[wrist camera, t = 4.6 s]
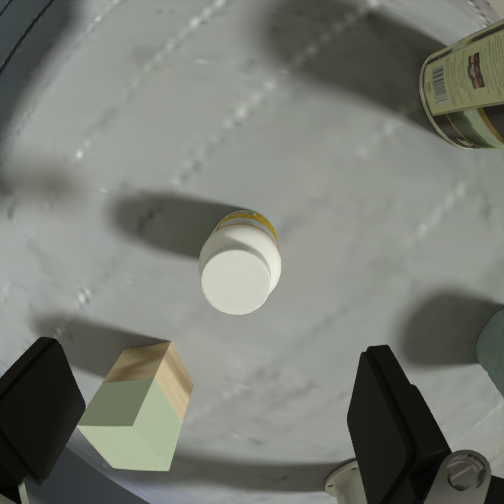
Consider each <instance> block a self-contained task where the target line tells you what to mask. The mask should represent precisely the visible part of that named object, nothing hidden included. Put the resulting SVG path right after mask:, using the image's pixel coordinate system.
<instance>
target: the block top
mask: <svg viewBox="0 0 504 504" xmlns="http://www.w3.org/2000/svg"><path fill="white" fill-rule="evenodd" d="M77 427H78V428H79V430H80V431H81V432H82V433H83V435H84V436H85V437H86V438H87V439H88V441H89V442H90V443H91V444H92V445H93V446H94V448H95V449H96V450H97V451H98V452H99V453H100V454H101V455H102V457H103V458H104V459H105V460H106V461H107V462H108V463H109V464H110V465H111V466H112V467H113V468H117V469H129V470H146V471H169V469H170V465H171V462H172V458H173V455H174V451H175V448H176V444H177V441H178V437H179V434H180V430H181V427H182V422H181V420H180V419H179V417H178V416H177V414H176V412H175V411H174V409H173V408H172V406H171V405H170V403H169V401H168V400H167V398H166V396H165V395H164V393H163V391H162V390H161V388H160V386H159V385H158V383H157V381H156V379H155V378H148V379H139V380H131V381H121V382H110V383H102V385H101V386H100V388H99V389H98V391H97V392H96V394H95V396H94V397H93V399H92V400H91V402H90V403H89V405H88V407H87V408H86V410H85V412H84V414H83V415H82V417H81V419H80V420H79V422H78V424H77Z"/></svg>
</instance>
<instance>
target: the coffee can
mask: <svg viewBox="0 0 504 504" xmlns="http://www.w3.org/2000/svg"><path fill="white" fill-rule="evenodd" d="M419 92H420V97H421V101H422V105H423V108H424V110H425V112H426V115H427V117H428V119H429V120H430V122H431V123H432V125H433V127H434V128H435V129H436V130H437V132H438V133H439V134H440V135H441V136H442V137H443V138H444V139H445V140H447V141H448V142H449V143H451V144H453V145H454V146H456V147H459V148H462V149H504V19H502V20H500V21H498V22H496V23H494V24H491V25H489V26H487V27H485V28H483V29H481V30H479V31H477V32H475V33H473V34H471V35H469V36H467V37H465V38H463V39H461V40H460V41H458V42H456V43H454V44H452V45H450V46H448V47H446V48H444V49H442V50H441V51H437V52H435V53H433V54H431V55H430V56H429V57H428V58H427V59H426V60H425V62H424V63H423V65H422V68H421V71H420V75H419Z"/></svg>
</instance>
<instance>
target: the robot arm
mask: <svg viewBox="0 0 504 504" xmlns="http://www.w3.org/2000/svg"><path fill="white" fill-rule="evenodd" d="M85 408H86V405H85V401H84V399H83V397H82V394H81V392H80V390H79V388H78V385H77V383H76V381H75V378H74V376H73V373H72V371H71V369H70V366H69V364H68V361H67V358H66V356H65V353H64V350H63V348H62V346H61V345H60V344H59V342H58V341H57V340H56V339H54V338H48V337H40V338H39V339H38V340H37V341H36V342H35V343H34V344H33V345H32V346H31V347H30V348H29V349H28V350H27V351H26V352H25V353H24V354H23V355H22V356H21V357H20V358H19V359H18V360H17V361H16V362H15V363H14V364H13V365H12V366H11V367H10V368H9V369H8V370H7V371H6V373H5V374H4V375H3V376H2V377H1V378H0V504H29V502H28V498H27V494H26V490H25V485H24V481H23V479H24V477H26V478H27V479H28V480H29V481H31V482H33V483H35V484H37V485H39V486H41V484H42V482H43V480H46V479H47V478H48V476H49V474H50V472H51V471H52V469H53V467H54V465H55V463H56V461H57V459H58V457H59V456H60V454H61V452H62V450H63V449H64V447H65V445H66V443H67V441H68V440H69V438H70V436H71V434H72V433H73V431H74V429H75V427H76V426H77V424H78V422H79V420H80V419H81V417H82V415H83V414H84V412H85ZM347 424H348V428H349V432H350V436H351V440H352V443H353V447H354V451H355V455H356V459H357V460H356V461H353V462H350V463H348V464H346V465H344V466H342V467H340V468H338V469H337V470H335V471H334V472H333V473H332V474H331V475H329V476H328V478H327V479H326V481H325V490H326V492H327V493H328V494H329V495H331V496H333V497H336V498H337V503H338V504H504V479H503V478H499V477H496V476H493V475H491V467H490V464H489V462H488V461H487V459H486V458H485V457H484V456H483V455H481V454H480V453H478V452H476V451H473V450H458V451H456V452H453V453H452V451H451V449H450V448H449V446H448V444H447V442H446V440H445V438H444V436H443V434H442V432H441V430H440V428H439V426H438V424H437V422H436V420H435V419H434V417H433V415H432V413H431V411H430V409H429V408H428V406H427V404H426V402H425V400H424V398H423V397H422V395H421V393H420V391H419V390H418V388H417V387H416V386H415V385H413V384H410V382H409V380H408V379H407V377H406V375H405V373H404V372H403V370H402V368H401V366H400V364H399V363H398V361H397V359H396V358H395V356H394V354H393V352H392V351H391V349H390V347H389V346H388V345H379V346H369V347H368V348H367V350H366V352H362V353H361V355H360V360H359V365H358V370H357V375H356V380H355V384H354V389H353V393H352V398H351V402H350V406H349V410H348V414H347Z"/></svg>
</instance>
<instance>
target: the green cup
mask: <svg viewBox="0 0 504 504" xmlns="http://www.w3.org/2000/svg"><path fill="white" fill-rule="evenodd" d="M475 351H476V357H477V360H478V362H479V363H480V364H481V366H482V367H483V368H484V370H485V371H487V372H488V375H489V377H490V378H491V380H492V382H493V383H494V384H495V386H496V388H497V389H498V390H499V391H500V393H501V395H502V396H503V397H504V308H503V309H501V310H499V311H498V312H497V313H495V314H494V315H493V316H492V317H491V318H490V319H489V321H488V322H487V323H486V325H485V326H484V328H483V329H482V331H481V333H480V335H479V337H478V340H477V344H476V350H475Z"/></svg>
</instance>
